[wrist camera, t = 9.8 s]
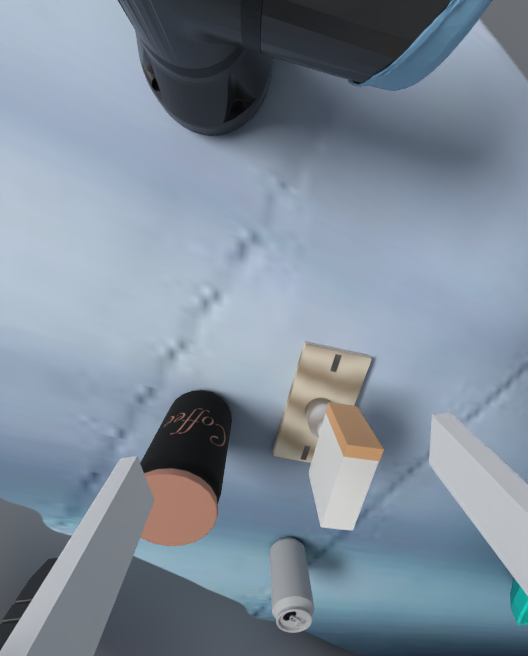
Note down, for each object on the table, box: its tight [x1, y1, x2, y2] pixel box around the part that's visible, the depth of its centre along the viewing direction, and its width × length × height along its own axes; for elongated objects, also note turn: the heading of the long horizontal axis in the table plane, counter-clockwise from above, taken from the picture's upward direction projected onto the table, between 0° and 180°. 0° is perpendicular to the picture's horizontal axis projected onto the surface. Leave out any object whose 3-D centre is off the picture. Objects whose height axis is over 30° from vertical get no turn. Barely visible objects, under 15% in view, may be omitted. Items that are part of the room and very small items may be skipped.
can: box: [270, 537, 314, 633], centre depth 51 cm, size 8×8×12 cm
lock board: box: [273, 342, 372, 463], centre depth 44 cm, size 22×11×6 cm, turn 167°
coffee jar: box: [140, 391, 232, 546], centre depth 38 cm, size 11×11×18 cm
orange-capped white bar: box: [309, 402, 384, 531], centre depth 36 cm, size 4×12×11 cm, turn 170°
